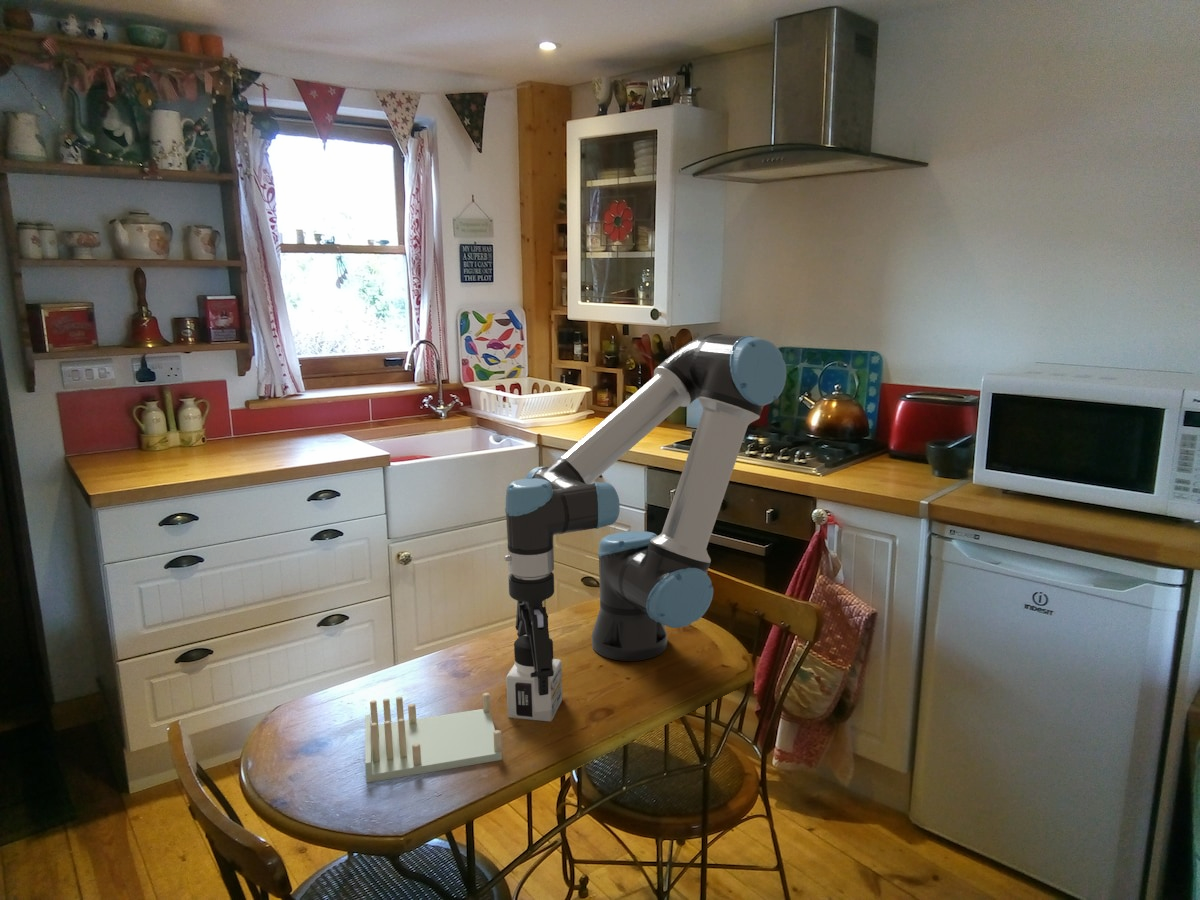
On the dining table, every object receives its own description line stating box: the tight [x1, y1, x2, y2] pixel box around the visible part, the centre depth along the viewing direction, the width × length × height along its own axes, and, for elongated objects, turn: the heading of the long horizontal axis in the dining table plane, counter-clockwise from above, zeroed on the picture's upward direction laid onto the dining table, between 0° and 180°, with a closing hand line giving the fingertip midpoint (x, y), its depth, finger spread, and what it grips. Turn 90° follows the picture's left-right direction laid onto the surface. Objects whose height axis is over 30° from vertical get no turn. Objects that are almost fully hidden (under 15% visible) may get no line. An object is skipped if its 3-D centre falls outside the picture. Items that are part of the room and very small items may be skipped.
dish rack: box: [364, 692, 503, 784], centre depth 129 cm, size 20×14×7 cm
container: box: [505, 635, 563, 722], centre depth 139 cm, size 8×8×13 cm
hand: (534, 691), depth 140 cm, fingers open, 13 cm apart
